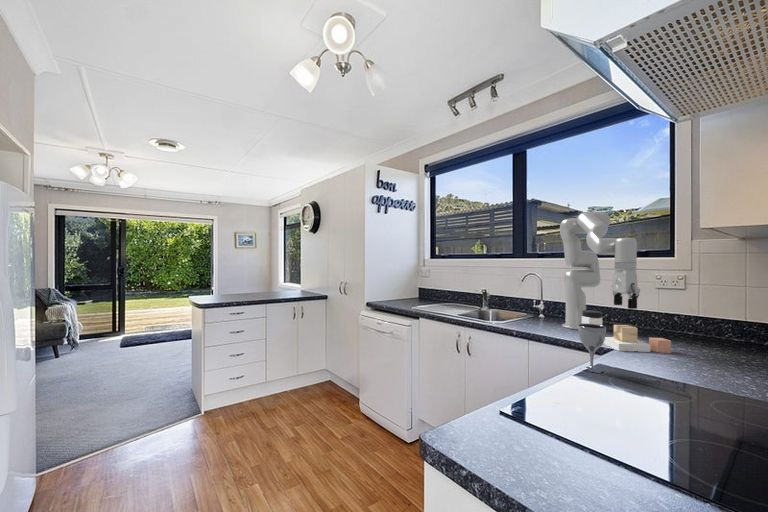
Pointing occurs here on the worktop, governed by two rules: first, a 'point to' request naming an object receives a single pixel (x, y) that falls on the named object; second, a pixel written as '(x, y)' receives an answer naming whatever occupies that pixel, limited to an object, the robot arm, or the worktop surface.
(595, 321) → the jar
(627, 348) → the plinth
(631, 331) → the maple cube
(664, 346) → the terracotta cube
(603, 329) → the wine glass
